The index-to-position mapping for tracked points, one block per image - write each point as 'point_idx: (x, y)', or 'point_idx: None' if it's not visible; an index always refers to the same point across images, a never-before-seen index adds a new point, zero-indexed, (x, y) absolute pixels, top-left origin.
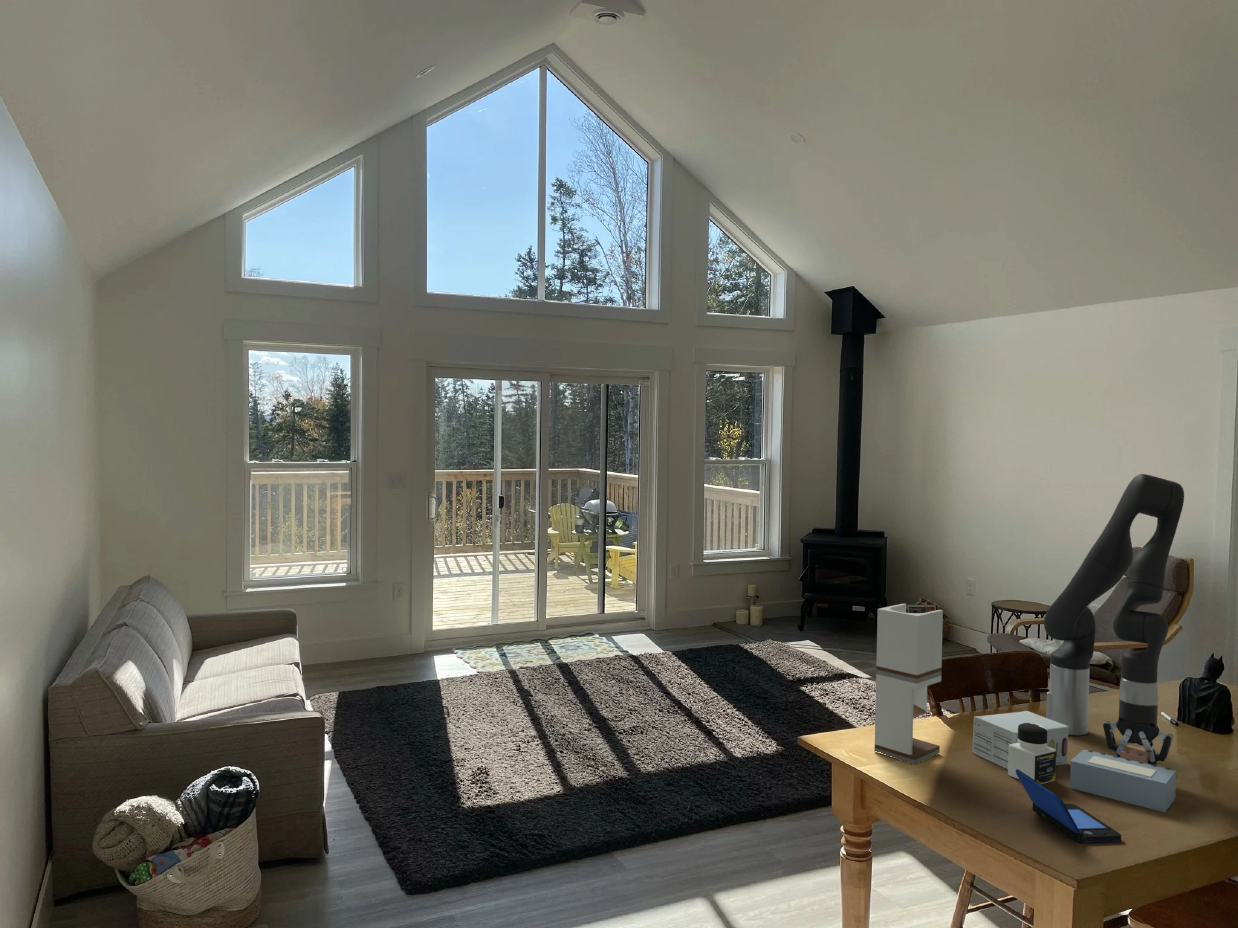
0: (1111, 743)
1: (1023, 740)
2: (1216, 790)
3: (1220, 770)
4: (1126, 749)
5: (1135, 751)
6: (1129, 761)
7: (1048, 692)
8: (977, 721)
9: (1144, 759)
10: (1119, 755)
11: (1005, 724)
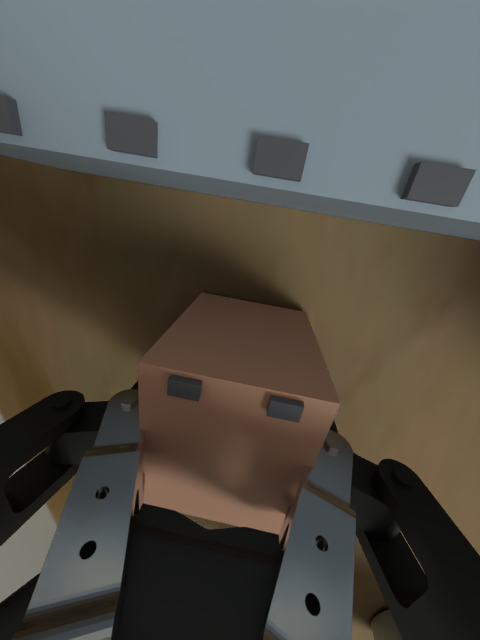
0: (412, 512)
1: None
2: (4, 365)
3: (61, 506)
4: (288, 463)
5: (226, 450)
6: (261, 105)
7: None
8: None
9: (158, 352)
10: None
11: None
